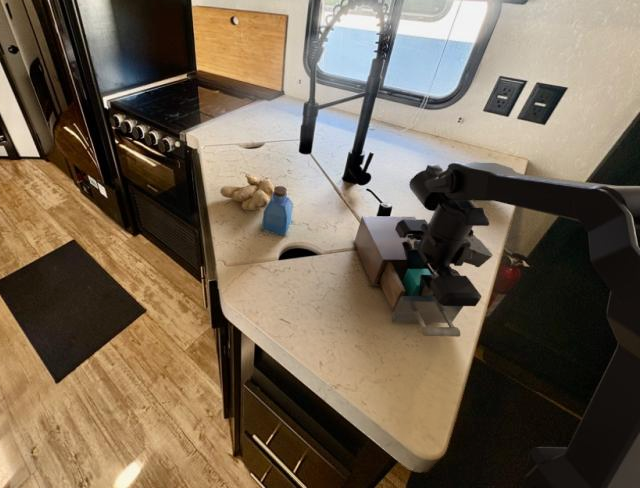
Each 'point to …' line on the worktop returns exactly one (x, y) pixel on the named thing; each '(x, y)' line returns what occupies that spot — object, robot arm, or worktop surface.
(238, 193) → the ginger root
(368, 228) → the drawer cabinet
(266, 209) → the perfume bottle
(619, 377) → the robot arm
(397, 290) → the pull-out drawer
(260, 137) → the worktop surface
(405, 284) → the teal block
